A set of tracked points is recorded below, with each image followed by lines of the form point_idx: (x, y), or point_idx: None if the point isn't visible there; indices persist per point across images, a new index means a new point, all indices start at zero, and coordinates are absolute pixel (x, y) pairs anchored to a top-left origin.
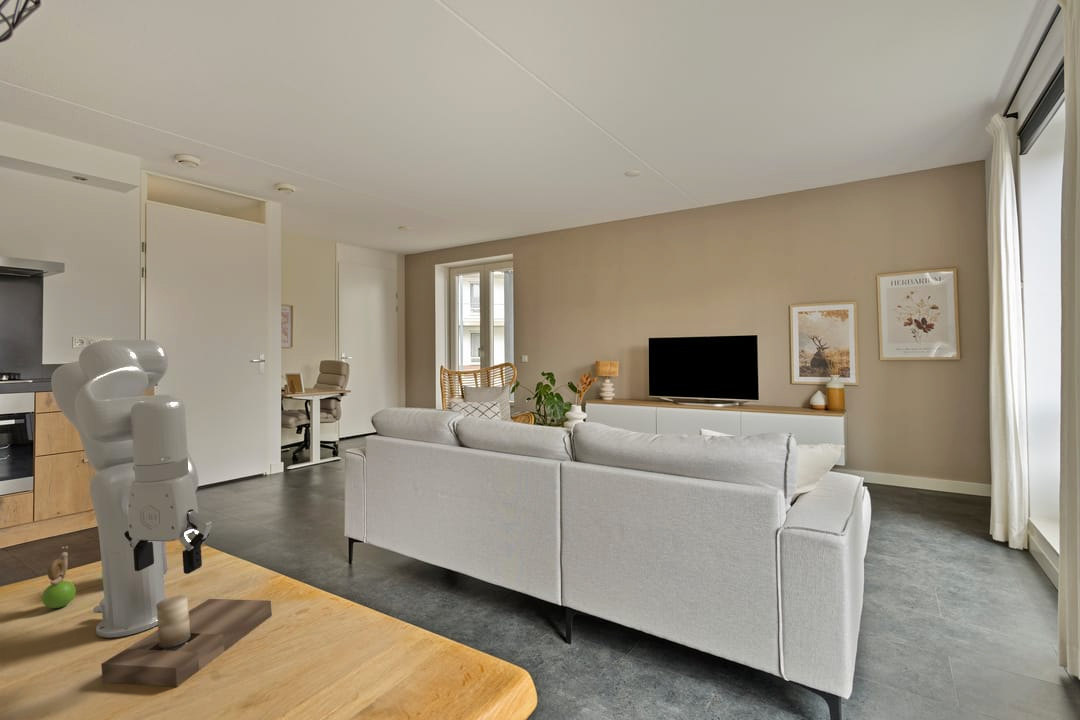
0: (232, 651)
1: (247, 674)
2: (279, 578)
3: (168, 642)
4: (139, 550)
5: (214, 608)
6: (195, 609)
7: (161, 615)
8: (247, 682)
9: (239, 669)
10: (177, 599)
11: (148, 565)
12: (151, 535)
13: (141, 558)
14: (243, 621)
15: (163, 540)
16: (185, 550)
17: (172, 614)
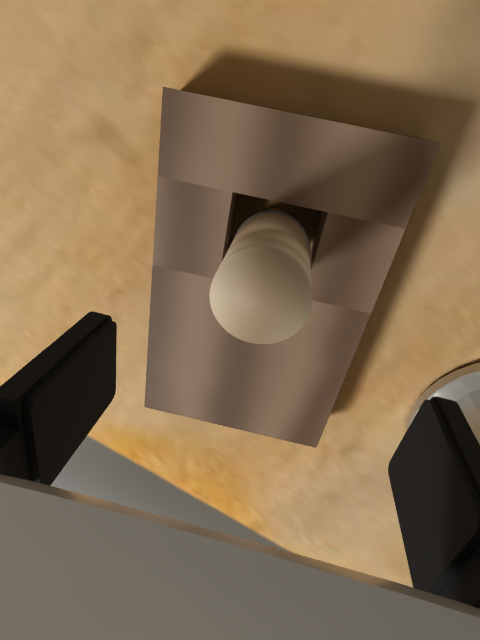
0: (147, 247)
1: (34, 134)
2: (240, 519)
3: (263, 216)
4: (465, 519)
5: (269, 399)
6: (320, 404)
7: (273, 242)
8: (6, 95)
9: (71, 160)
10: (247, 312)
11: (401, 445)
12: (220, 618)
13: (438, 467)
14: (149, 327)
15: (59, 494)
16: (6, 409)
17: (235, 247)
